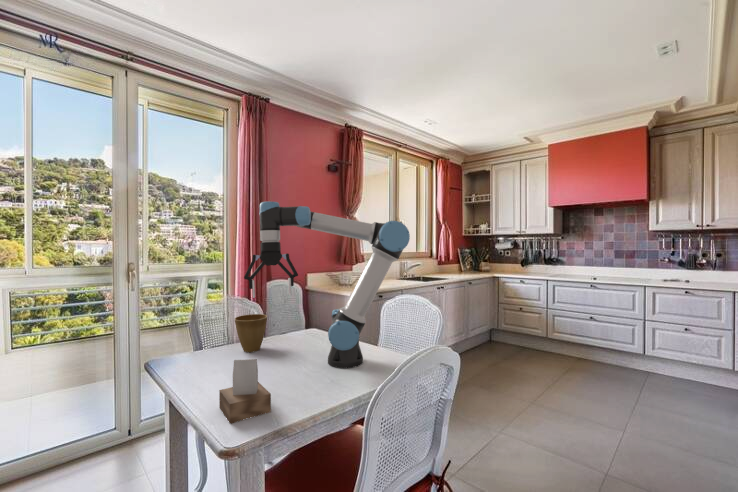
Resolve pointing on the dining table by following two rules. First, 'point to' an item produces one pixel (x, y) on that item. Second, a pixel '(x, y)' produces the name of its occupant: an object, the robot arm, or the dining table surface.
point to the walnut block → (244, 404)
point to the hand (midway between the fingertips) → (272, 296)
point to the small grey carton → (245, 377)
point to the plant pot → (251, 331)
